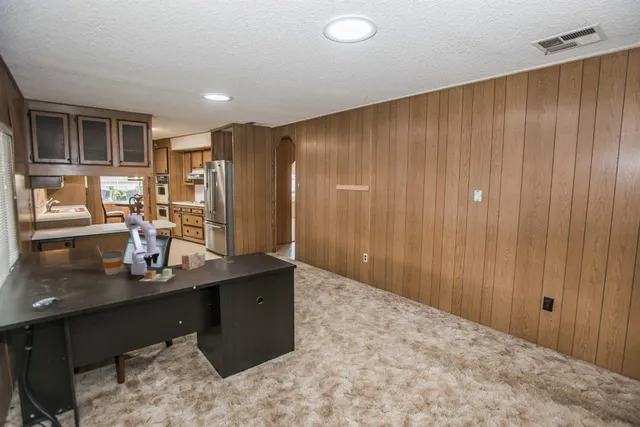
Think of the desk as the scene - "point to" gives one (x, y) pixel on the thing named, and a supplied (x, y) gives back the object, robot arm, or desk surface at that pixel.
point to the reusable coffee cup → (112, 262)
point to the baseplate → (159, 278)
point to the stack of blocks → (192, 260)
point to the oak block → (150, 274)
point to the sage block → (167, 272)
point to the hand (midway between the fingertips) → (152, 265)
